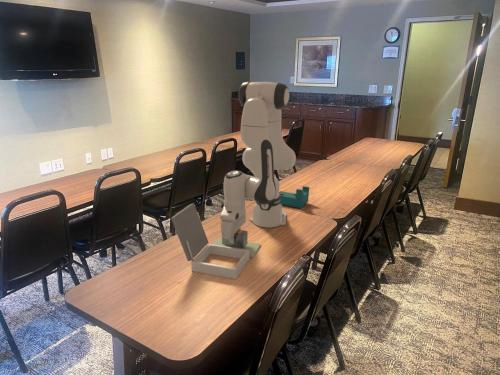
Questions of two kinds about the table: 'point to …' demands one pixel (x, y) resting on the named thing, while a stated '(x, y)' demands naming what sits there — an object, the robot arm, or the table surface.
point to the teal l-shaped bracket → (295, 197)
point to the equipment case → (217, 269)
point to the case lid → (190, 230)
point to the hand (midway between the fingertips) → (234, 239)
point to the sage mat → (250, 246)
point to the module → (237, 239)
